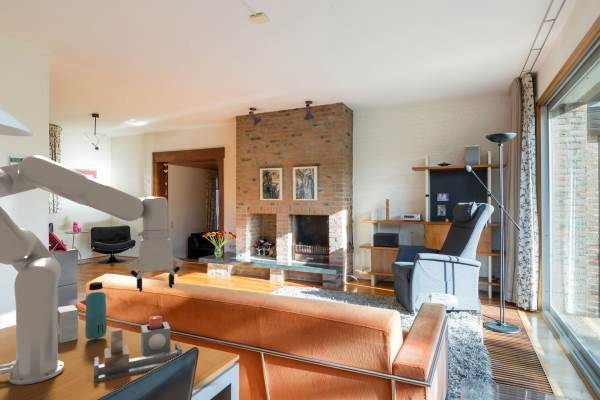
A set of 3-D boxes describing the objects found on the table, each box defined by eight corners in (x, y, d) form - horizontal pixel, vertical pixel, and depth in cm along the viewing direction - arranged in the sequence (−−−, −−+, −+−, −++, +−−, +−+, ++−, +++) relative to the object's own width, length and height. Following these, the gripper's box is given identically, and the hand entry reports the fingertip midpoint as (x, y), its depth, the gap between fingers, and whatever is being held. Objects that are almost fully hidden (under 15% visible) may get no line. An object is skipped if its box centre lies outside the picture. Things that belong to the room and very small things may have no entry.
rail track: (94, 382, 96) (94, 367, 96) (94, 370, 103) (94, 356, 103) (182, 363, 107) (182, 350, 107) (177, 353, 114) (177, 341, 114)
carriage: (104, 369, 97) (104, 336, 97) (104, 359, 104) (104, 328, 104) (129, 364, 100) (129, 332, 100) (127, 354, 106) (127, 324, 106)
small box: (55, 336, 127) (55, 307, 127) (73, 332, 131) (73, 304, 131) (59, 343, 122) (59, 312, 122) (78, 339, 125) (78, 309, 125)
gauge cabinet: (143, 359, 110) (143, 333, 110) (140, 350, 117) (141, 325, 117) (170, 353, 114) (170, 328, 114) (166, 345, 120) (166, 321, 120)
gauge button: (149, 329, 113) (149, 320, 113) (148, 326, 116) (148, 316, 116) (163, 327, 115) (163, 318, 115) (161, 324, 118) (161, 314, 118)
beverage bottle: (97, 344, 121) (97, 285, 121) (80, 342, 122) (80, 284, 122) (110, 337, 127) (111, 281, 127) (94, 335, 129) (95, 280, 128)
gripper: (126, 237, 108) (126, 295, 108) (185, 234, 116) (185, 288, 116) (124, 235, 114) (125, 289, 114) (181, 232, 123) (181, 283, 123)
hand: (155, 288), depth 115 cm, fingers open, 8 cm apart
